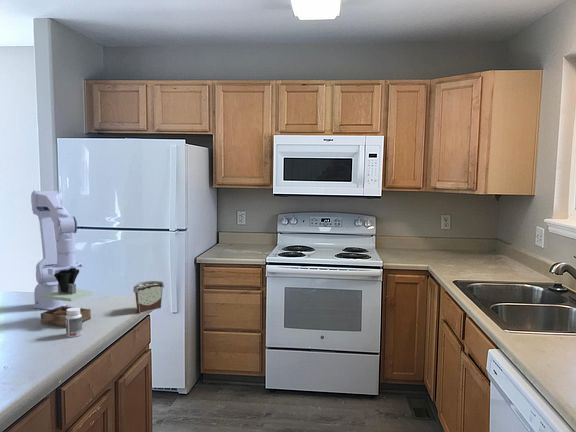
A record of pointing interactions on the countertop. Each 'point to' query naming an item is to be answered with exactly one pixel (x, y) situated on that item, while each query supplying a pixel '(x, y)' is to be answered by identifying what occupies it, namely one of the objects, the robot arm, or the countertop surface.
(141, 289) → the food container
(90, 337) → the countertop surface
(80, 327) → the pill bottle
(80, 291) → the lid
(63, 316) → the crate
